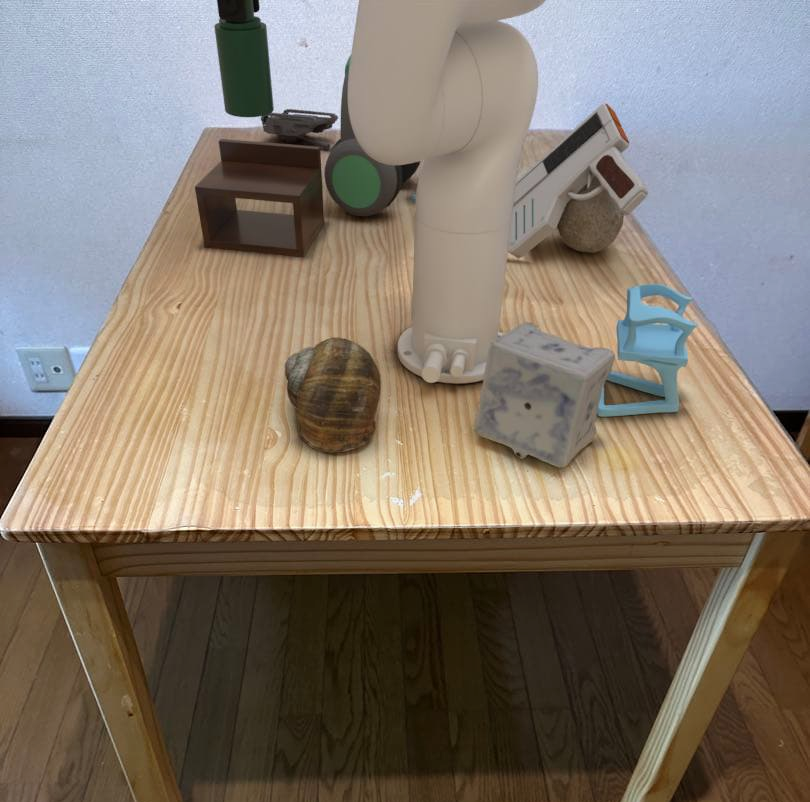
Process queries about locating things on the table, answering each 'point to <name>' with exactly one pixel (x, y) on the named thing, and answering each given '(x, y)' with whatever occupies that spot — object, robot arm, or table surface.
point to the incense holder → (541, 394)
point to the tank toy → (298, 125)
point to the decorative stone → (590, 221)
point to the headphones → (361, 171)
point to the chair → (651, 349)
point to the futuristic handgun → (574, 179)
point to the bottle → (245, 65)
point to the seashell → (334, 394)
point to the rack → (262, 198)
